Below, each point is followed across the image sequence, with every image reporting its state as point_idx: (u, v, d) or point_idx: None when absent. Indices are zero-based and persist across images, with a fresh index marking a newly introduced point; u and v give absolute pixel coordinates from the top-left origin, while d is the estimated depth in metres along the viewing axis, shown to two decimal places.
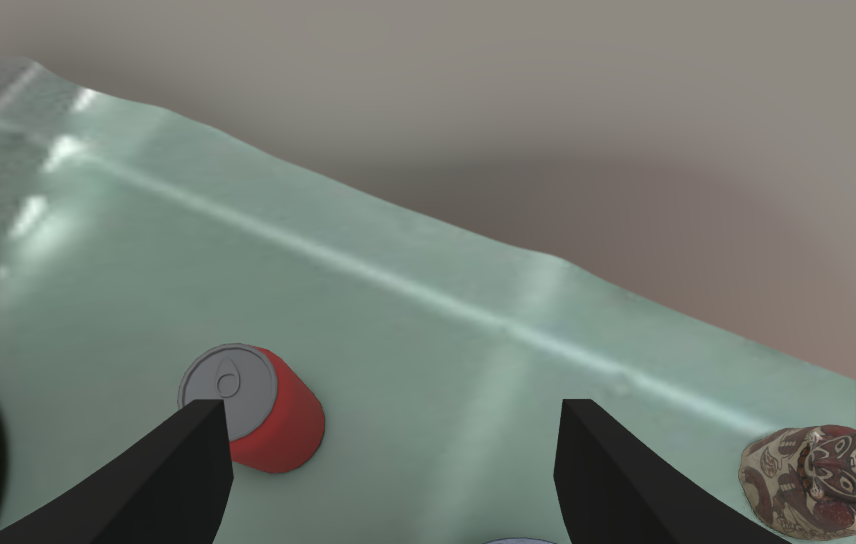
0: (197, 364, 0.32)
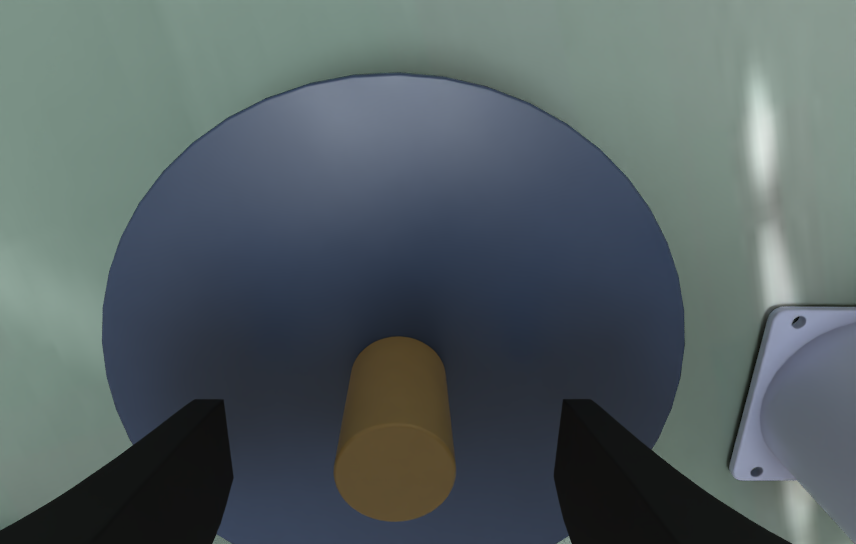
0: None
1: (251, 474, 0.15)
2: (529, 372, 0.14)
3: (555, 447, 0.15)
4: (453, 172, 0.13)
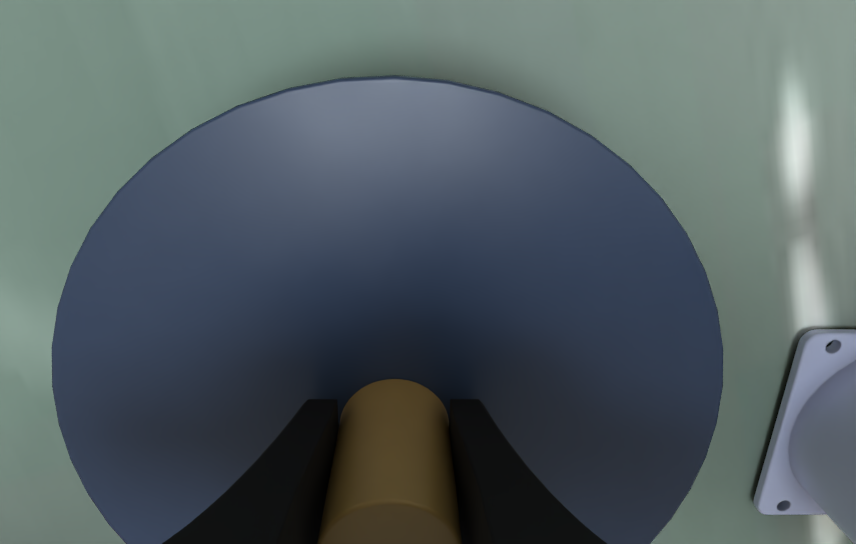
0: None
1: None
2: (545, 418, 0.13)
3: (573, 500, 0.14)
4: (458, 192, 0.11)
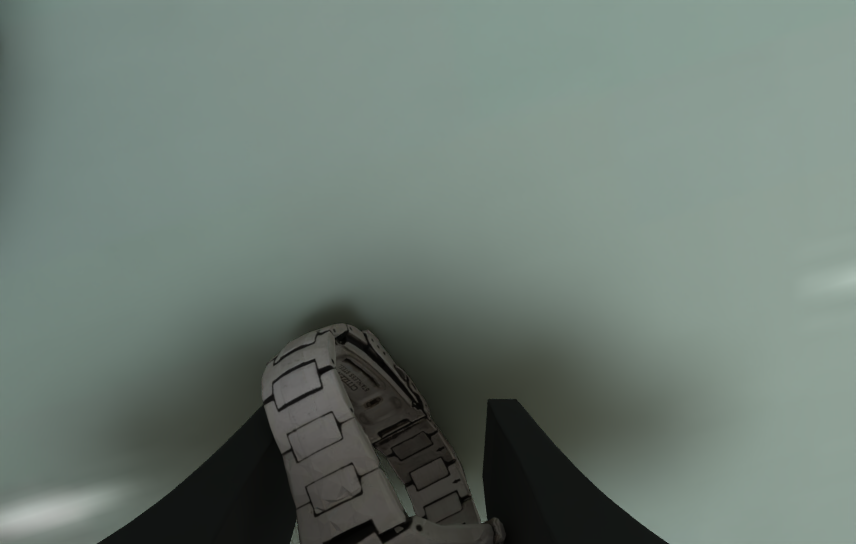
0: None
1: None
2: None
3: None
4: None
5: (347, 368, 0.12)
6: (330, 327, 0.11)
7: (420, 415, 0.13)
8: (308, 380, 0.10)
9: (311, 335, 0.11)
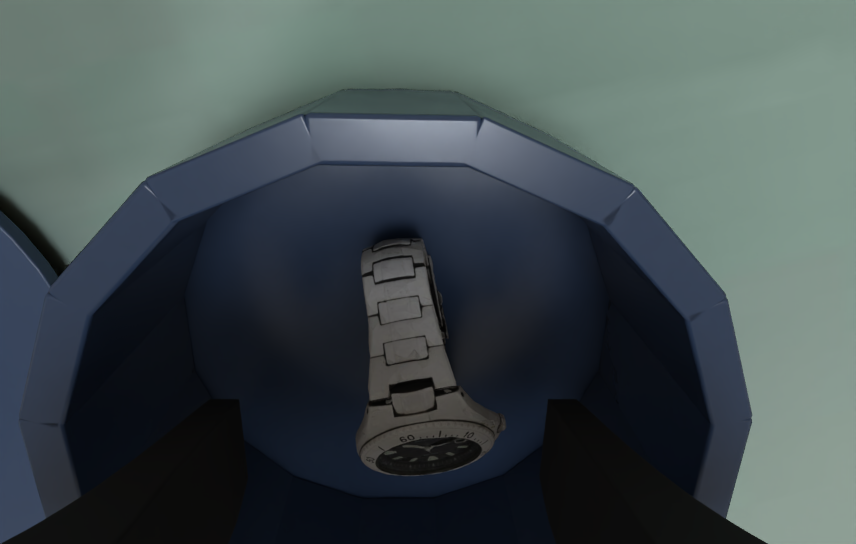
0: None
1: None
2: None
3: None
4: None
5: None
6: (420, 239, 0.14)
7: None
8: (405, 268, 0.13)
9: (406, 239, 0.13)
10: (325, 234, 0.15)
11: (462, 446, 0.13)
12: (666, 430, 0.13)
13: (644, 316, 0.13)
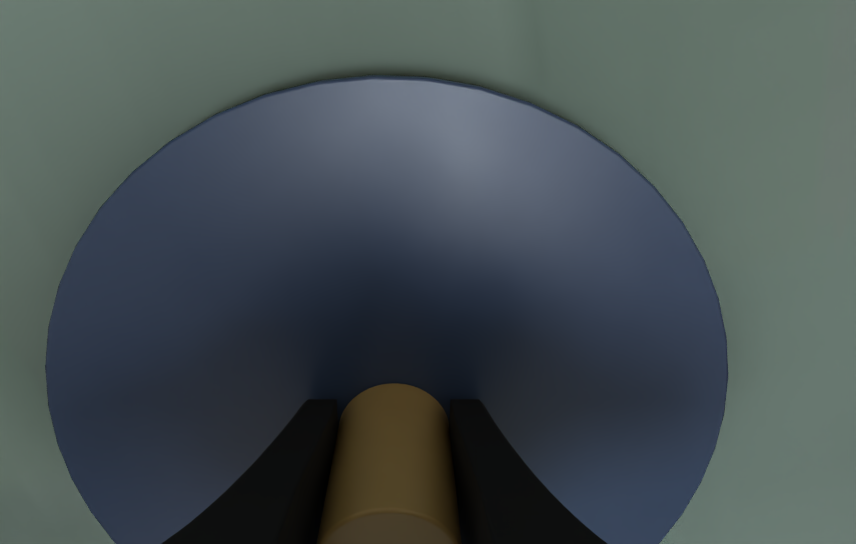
0: None
1: (584, 293, 0.11)
2: (241, 442, 0.12)
3: (179, 349, 0.12)
4: None
5: None
6: None
7: None
8: None
9: None
10: None
11: None
12: None
13: None
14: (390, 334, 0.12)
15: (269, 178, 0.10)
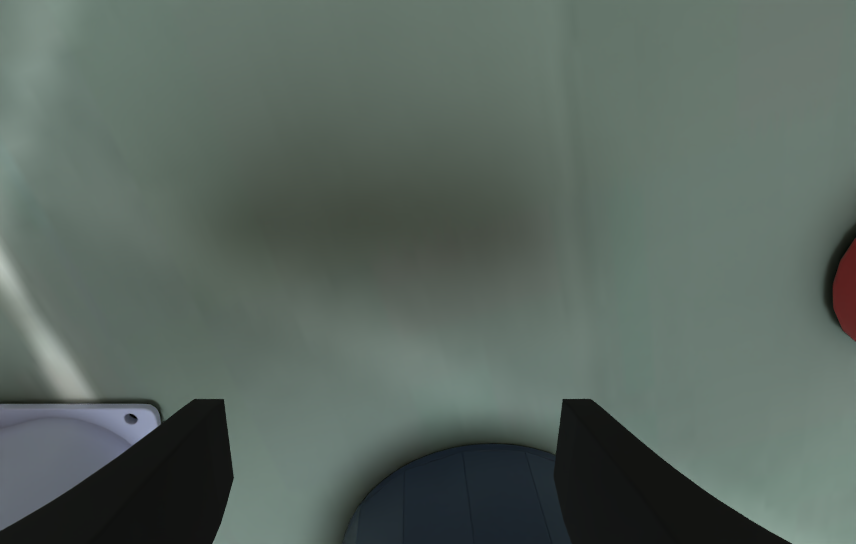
0: None
1: None
2: None
3: None
4: None
5: None
6: None
7: None
8: None
9: None
10: None
11: None
12: None
13: None
14: None
15: None
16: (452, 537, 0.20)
